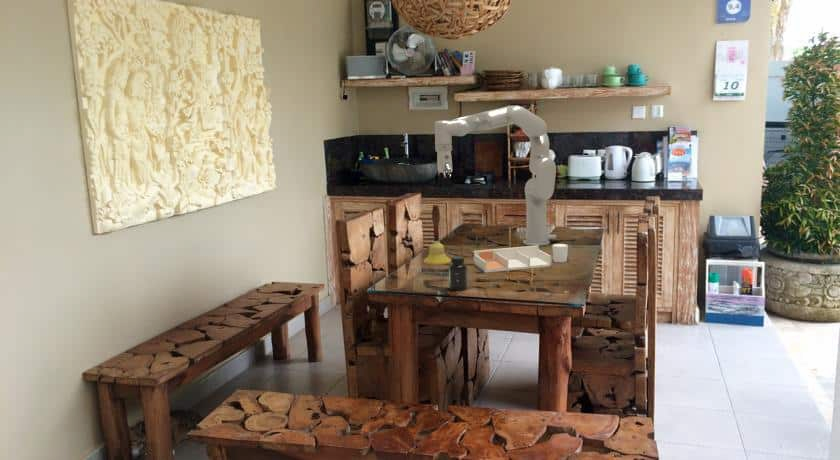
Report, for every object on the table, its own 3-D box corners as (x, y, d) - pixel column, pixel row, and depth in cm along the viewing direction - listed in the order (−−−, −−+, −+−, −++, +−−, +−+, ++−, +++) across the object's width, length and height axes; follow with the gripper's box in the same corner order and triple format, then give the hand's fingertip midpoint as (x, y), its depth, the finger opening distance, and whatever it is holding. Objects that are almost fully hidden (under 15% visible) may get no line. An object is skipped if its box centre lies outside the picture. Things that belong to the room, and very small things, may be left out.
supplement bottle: (447, 290, 269) (446, 259, 267) (452, 285, 275) (451, 255, 273) (464, 291, 266) (463, 260, 264) (469, 286, 273) (469, 256, 270)
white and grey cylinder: (550, 262, 306) (550, 246, 305) (553, 258, 312) (553, 243, 311) (566, 263, 304) (567, 247, 302) (569, 259, 310) (569, 243, 309)
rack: (537, 258, 313) (537, 245, 312) (551, 266, 299) (551, 252, 298) (474, 264, 307) (473, 250, 306) (484, 272, 293) (484, 258, 292)
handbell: (430, 265, 308) (428, 208, 303) (418, 260, 319) (416, 204, 314) (456, 262, 313) (454, 205, 308) (443, 256, 324) (441, 202, 319)
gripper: (456, 148, 318) (457, 186, 321) (446, 146, 335) (447, 182, 338) (440, 149, 317) (441, 187, 320) (431, 146, 333) (432, 183, 336)
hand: (444, 185), depth 329 cm, fingers open, 9 cm apart
